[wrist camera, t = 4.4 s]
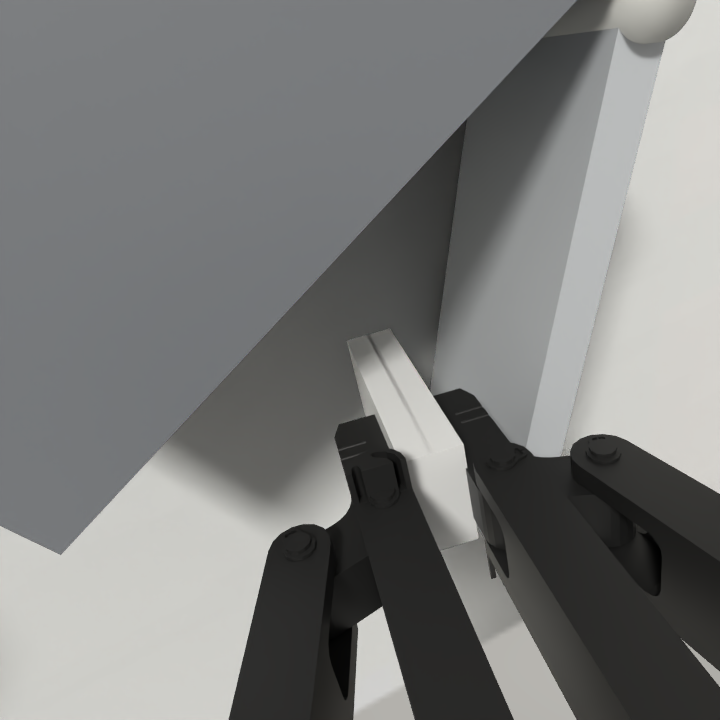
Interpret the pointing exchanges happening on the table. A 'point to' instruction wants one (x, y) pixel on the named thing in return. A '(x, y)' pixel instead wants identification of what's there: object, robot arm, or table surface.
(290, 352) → the table surface
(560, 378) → the side door
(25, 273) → the camera body
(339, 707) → the robot arm
